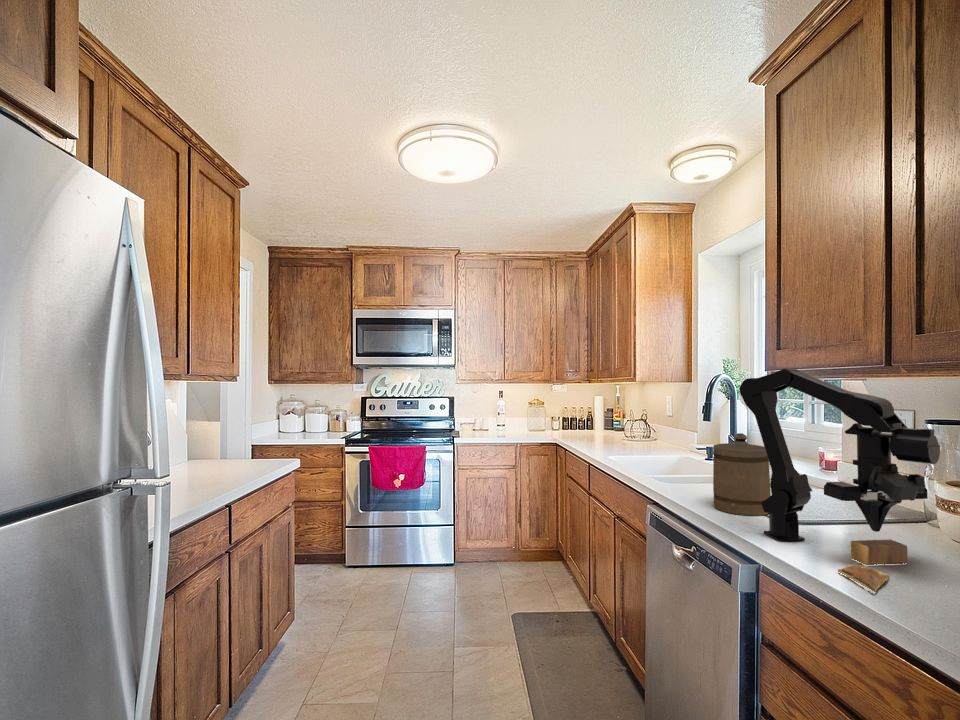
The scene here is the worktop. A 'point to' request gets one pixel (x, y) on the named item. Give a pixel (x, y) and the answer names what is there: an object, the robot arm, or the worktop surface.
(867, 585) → the shard
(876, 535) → the worktop surface
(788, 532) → the robot arm
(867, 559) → the walnut block
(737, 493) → the wooden container
